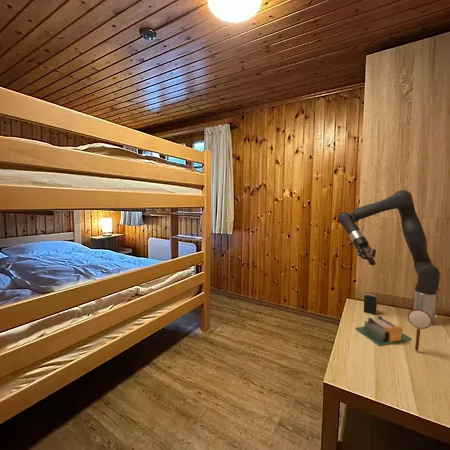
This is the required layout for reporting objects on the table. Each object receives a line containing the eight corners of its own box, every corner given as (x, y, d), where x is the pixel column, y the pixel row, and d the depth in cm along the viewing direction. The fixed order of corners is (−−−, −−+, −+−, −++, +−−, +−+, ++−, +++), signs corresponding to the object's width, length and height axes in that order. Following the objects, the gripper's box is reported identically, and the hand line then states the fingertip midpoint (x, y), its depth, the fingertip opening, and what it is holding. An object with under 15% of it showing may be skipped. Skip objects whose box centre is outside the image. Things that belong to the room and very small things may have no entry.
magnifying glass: (428, 354, 113) (433, 312, 110) (428, 356, 112) (432, 313, 109) (405, 347, 118) (408, 306, 116) (404, 348, 117) (408, 307, 115)
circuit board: (385, 324, 138) (386, 311, 137) (411, 340, 124) (412, 325, 123) (355, 329, 134) (356, 316, 133) (379, 346, 119) (380, 330, 118)
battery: (377, 313, 152) (378, 295, 150) (376, 315, 149) (377, 297, 148) (364, 309, 156) (365, 292, 155) (362, 311, 154) (364, 293, 152)
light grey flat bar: (378, 319, 134) (378, 318, 133) (396, 331, 123) (397, 329, 123) (372, 320, 133) (372, 319, 132) (390, 332, 122) (390, 331, 122)
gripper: (352, 236, 147) (367, 262, 137) (371, 235, 150) (387, 260, 140) (345, 243, 153) (359, 269, 143) (363, 242, 156) (379, 267, 146)
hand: (373, 264), depth 141 cm, fingers closed
